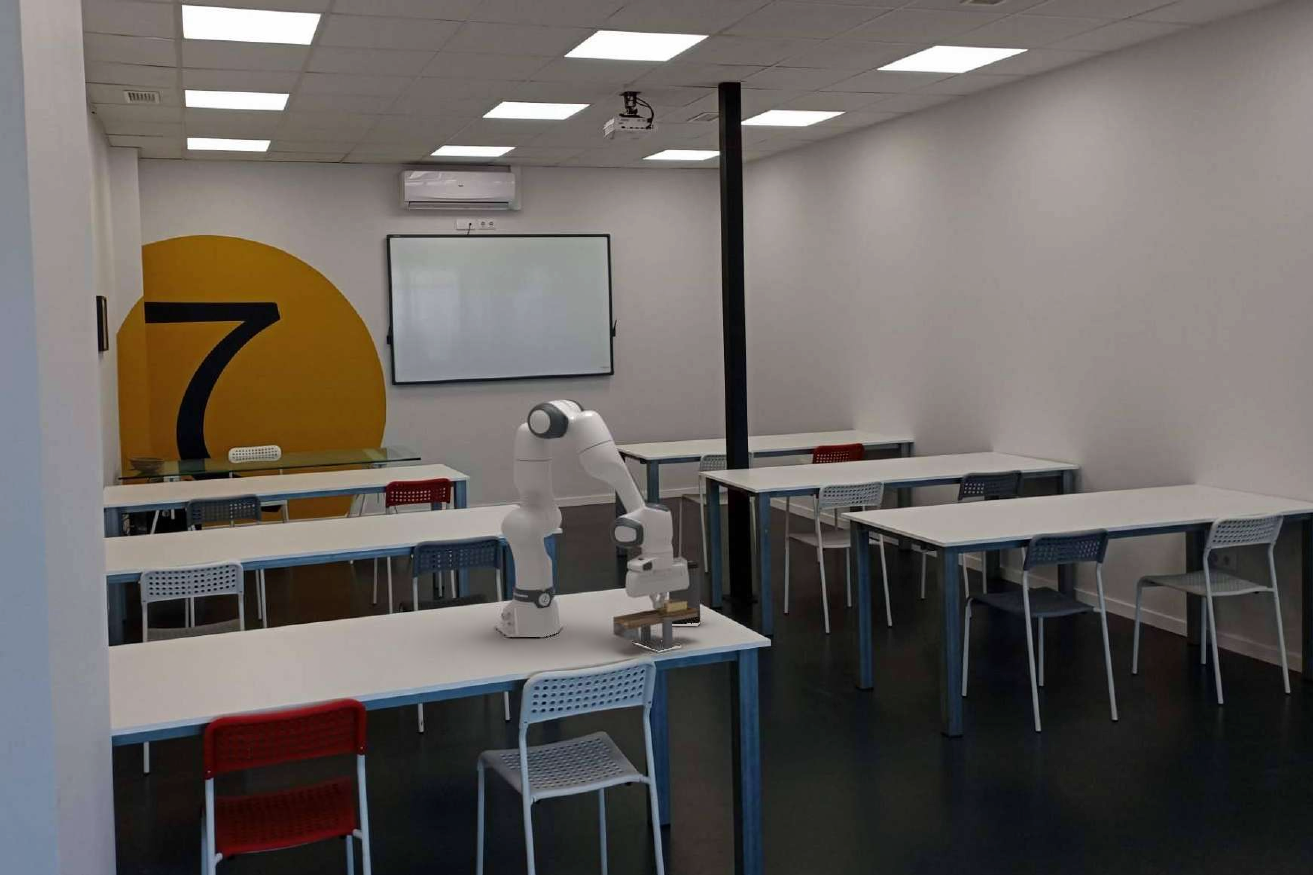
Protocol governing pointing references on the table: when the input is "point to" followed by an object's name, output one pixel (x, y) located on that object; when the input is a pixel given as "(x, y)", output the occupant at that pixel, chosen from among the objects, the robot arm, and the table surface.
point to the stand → (656, 641)
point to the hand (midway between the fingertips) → (658, 608)
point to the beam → (645, 621)
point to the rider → (673, 606)
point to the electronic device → (690, 592)
